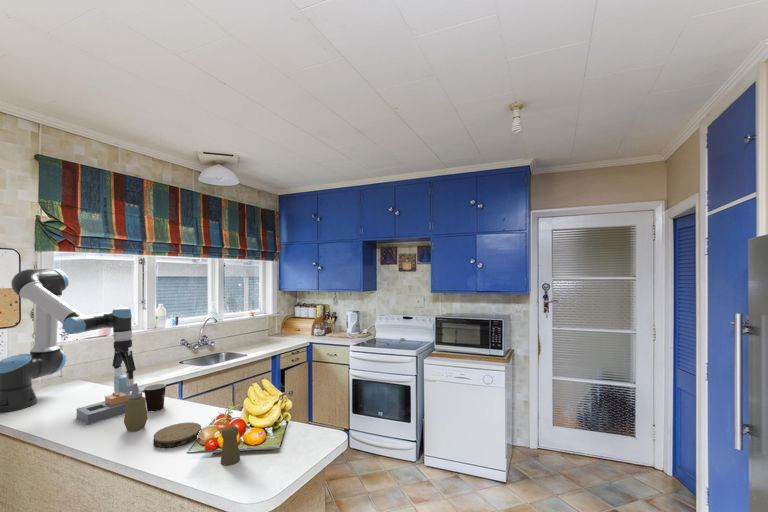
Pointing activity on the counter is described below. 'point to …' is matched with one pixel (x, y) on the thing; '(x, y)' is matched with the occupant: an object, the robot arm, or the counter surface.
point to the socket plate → (99, 412)
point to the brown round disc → (176, 435)
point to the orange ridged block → (115, 398)
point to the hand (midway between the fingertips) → (124, 383)
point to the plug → (122, 385)
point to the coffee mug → (155, 397)
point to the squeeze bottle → (135, 410)
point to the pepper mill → (230, 446)
